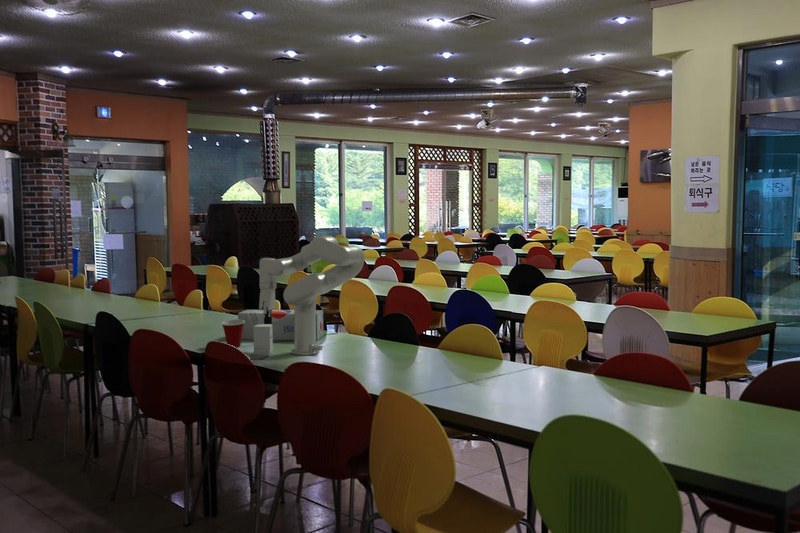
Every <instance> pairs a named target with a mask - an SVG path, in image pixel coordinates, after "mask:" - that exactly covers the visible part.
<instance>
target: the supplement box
mask: <svg viewBox="0 0 800 533" xmlns="http://www.w3.org/2000/svg"><path fill="white" fill-rule="evenodd" d="M253 330H254V339H253V354H255V355H269V356H270V354H271V353H273V351H274V350H273V349H274V348H273V343H274V342H273V341H274V340H273V335H272V324H257V325H255V326H254V327H253Z"/></svg>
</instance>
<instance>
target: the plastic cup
mask: <svg viewBox="0 0 800 533" xmlns="http://www.w3.org/2000/svg"><path fill="white" fill-rule="evenodd" d="M244 322H245V321H244V320H238V319H229V320H228V319H227V320H224V321H222V322H221V323H220V324H221V325H222V328H223V332H224V336H225V337H224V338H225V341H226V345H227V344H230V345H233V346H235V347H236V348H240V347H241V343H242V340H243V339H242V332H243V326H244Z"/></svg>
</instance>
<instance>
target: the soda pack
mask: <svg viewBox="0 0 800 533" xmlns="http://www.w3.org/2000/svg"><path fill="white" fill-rule="evenodd" d="M294 310H295V309H273V311H272V316H271V317H272V335H273V341H294ZM237 317H238V318H237V320H244V321H245V322H244V326H243V332H242V339H241V340H254V330H253V327H254V326H255V325H257V324H264V314H263V310H262V311H260V310H259V309H245V310H243V311H240V312H238V313H237ZM323 337H324V310H323V309H321V310H318V309H316V342H317V341H319V340H320V339H322V338H323Z"/></svg>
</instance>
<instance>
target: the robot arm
mask: <svg viewBox="0 0 800 533" xmlns="http://www.w3.org/2000/svg"><path fill="white" fill-rule="evenodd" d="M365 256H366V255H365V252H364V250H363V249H362V248H361V247H360V246H358V245H353V244H352V245H351V244H350V245H340V244H339V241H338V240H337V238H336V237H334V236H332V235H322V236H321V235H320V236H316V237H314V238H313V239H312V241H311V242H310V243H308V244H306V245H303V246H302V247H301V249H300V251H299V253H296V254H294V255H292V256H290V257H284V258H277V259H276V258H272V257H262V258H261V259H260V260H259V289H260V293H259V302H258V304H259V305H258V308H259V309H258V310H260V311H262V310H263V314H264V324H272V317H271V316H272V311H273V310H275V308H276V289H277V276H278V277H280V276H286V275H293V274H296V273H297V272H300V271H302V270H304V269H307V268H308V267H309V266H311V265H312V264H315V263H317V262H319V261H321V260H324V261H326V262H329V263H331V264H333V265H334V266H332V267H330V268H329V269H327V270H325V271H322V272H315V273H310V274H308V275H306V276H304V277H302V278H299V279H298V280H296V281H295V282H292V283H289V285H287V286H286V287H285V288H284V291H283V300H284V302H285V303H286V304H287V305H289V306H293V307H294V309H293V310H294V340H293V341H294V348H292V349H291V350H290V353H291V354H293V355H297V356H310V355H317V354H319V353H320V352H321V351H322V350H323V348H324V346H323V345H319V342H317V341H316V310H317V308H316V307H317V300H318V296H321V295H325V294H328V293H329V292H330V291H332V290H334V289H336V288H338V287H340V286H341V285H343V284H345V283H347V282H349V281H350V280H352V279H353V278H355V277H356V276H357V275H358V274H359V273H360V272H361V271H362V270H363V267H364V265H365V264H364V263H365Z"/></svg>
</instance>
